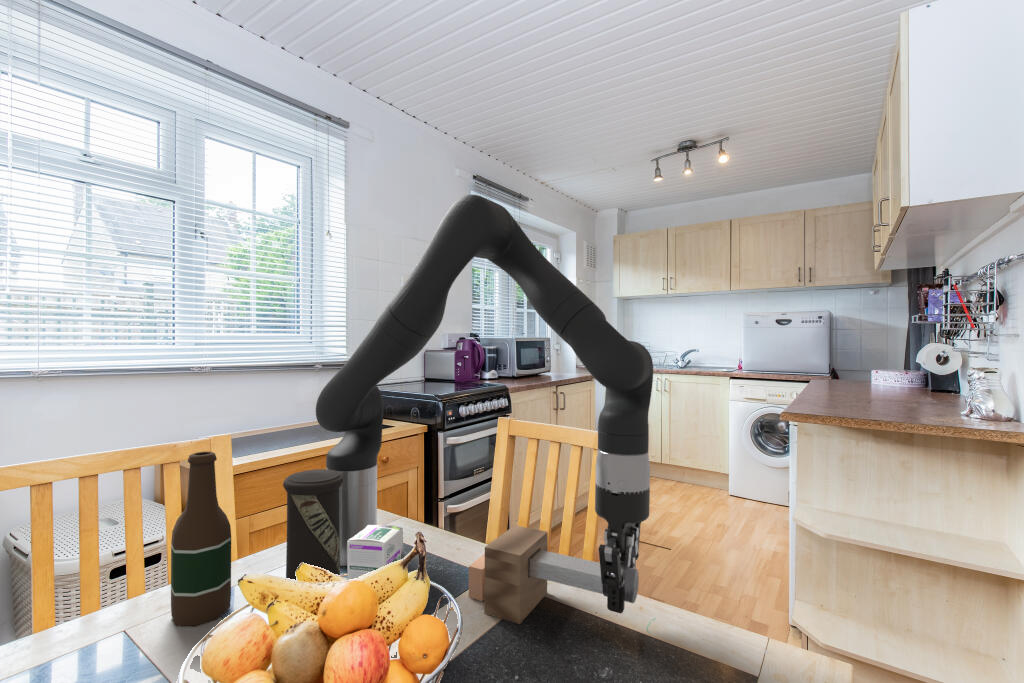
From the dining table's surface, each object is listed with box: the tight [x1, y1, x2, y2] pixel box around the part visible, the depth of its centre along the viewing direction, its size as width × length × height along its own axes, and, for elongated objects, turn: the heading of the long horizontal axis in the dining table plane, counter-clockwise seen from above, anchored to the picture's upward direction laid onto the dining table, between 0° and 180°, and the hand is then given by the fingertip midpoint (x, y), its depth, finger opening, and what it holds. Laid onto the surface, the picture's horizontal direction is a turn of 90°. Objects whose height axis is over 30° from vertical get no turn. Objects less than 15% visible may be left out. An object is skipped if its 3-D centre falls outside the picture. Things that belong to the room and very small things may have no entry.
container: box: [282, 468, 343, 580], centre depth 78 cm, size 9×9×20 cm
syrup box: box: [346, 524, 404, 581], centre depth 68 cm, size 6×6×14 cm
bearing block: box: [483, 524, 549, 625], centre depth 77 cm, size 6×10×10 cm, turn 153°
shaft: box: [528, 549, 639, 604], centre depth 73 cm, size 20×4×4 cm, turn 63°
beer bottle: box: [170, 451, 232, 628], centre depth 73 cm, size 8×8×24 cm
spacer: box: [468, 553, 485, 602], centre depth 80 cm, size 5×5×2 cm
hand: (620, 601), depth 69 cm, fingers closed on shaft, 4 cm apart
